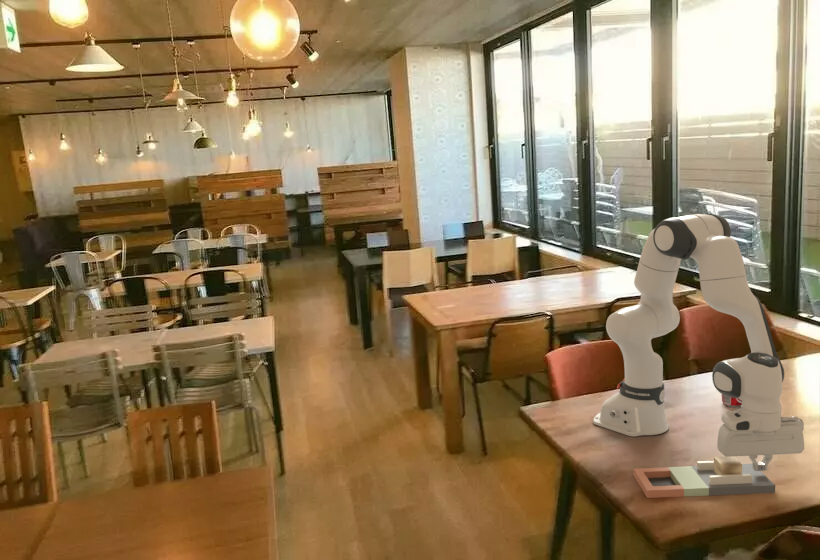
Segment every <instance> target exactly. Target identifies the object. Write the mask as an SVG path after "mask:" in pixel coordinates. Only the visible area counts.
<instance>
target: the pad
mask: <svg viewBox="0 0 820 560" xmlns="http://www.w3.org/2000/svg"><path fill="white" fill-rule="evenodd" d="M691 466H692V465H690V466H689V465H688V466H687V465H686V466H667V467H668V468H669V469H670V477H671V478H672V480H673V481H674V483H675V484H676V485H682V487H683V488H684V497H700V496H701V497H704V496H705V497H707V496H710V495H709V487H708V486H707V485H706V484H705V483H704V481H703V480H702V479H701V478H700V477H699V475H698V474H697V473H696V472H695V470H694V469H693V468H692V467H691Z"/></svg>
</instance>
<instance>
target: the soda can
mask: <svg viewBox="0 0 820 560" xmlns="http://www.w3.org/2000/svg"><path fill="white" fill-rule="evenodd" d="M721 402H722V403H723V404H724V405H725V406H727V407H731V408H740V407H741V406H742V400H741V399H740V398H732V397H728V396H724V395H723V394H721Z"/></svg>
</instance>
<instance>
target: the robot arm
mask: <svg viewBox="0 0 820 560" xmlns="http://www.w3.org/2000/svg"><path fill="white" fill-rule="evenodd" d="M731 232H732V231H731V225H730V224H729V222H728V221H727V219H726V218H724V217H723V216H721V215H718V214H714V213H706V214H705V213H696V214H695V213H694V214H693V213H692V214H691V213H690V214H686V215H681V216H678V217H676V216H675V217H674V216H673V217H669V218H665V219H663V220H661V221H660V222H659V223H657V225H656V226H655V228H654V229H652V230H651V231H650V233H649V235H648V237H647V239H646V241H645V243H644V245H643V247H642V251H641V253H640V257H639V261H638V265H637V269H636V272H635V277H634V282H633V283H634V286H635V288H636V290H637V291H638V292H639V293H640V300H639V302H638V303H637V304H635V305H630V306H626V307H622V308H620V309H618V310H616V311H615V312H613V313H611V314H610V315H609V316H608V317H607V320H606V323H605V324H606V325H605V328H606V333H607V335H608V336H609V338H610V339H611V340H612V341H613V342H614V343H616V344H617V345H618V347H619V349H620V351H621V354H622V357H623V364H624V365H623V366H624V367H623V368H624V378H623V380H622V381H620V382H619V383H618V384H617V385H616V386H617V387H616V389H617V390H619V391H618V392H616V393H614V394H613V395H612V396H610V397H608V398H607V399H606V400H605V401H604V402H603V403H602V405H601V409H600V412H598V413H597V414H596V415H594V416H593V419H592V422H593V424H594V425H595V426H599V427H601V428H604V429H607V430H610V431H614V432H617V433H619V434H622V435H626V436H628V437H641V436H654V435H659V434H660V435H661V434H664V433H666V432H667V431H668V430H669V424H668V421H667V417H666V413H665V403H664V402H665V397H666V396H665V395H666V394H665V393H666V392H665V383H664V378H663V377H664V376H663V375H664V374H663V373H664V372H663V371H664V368H663V367H664V366H663V365H664V362H663V361H664V360H663V358H662V357H661V356H660V354H658V353H657V352H654V350H653V347H652V339H655V338H658V337H659V338H660V337H662V336H667V335H668V334H670V332H673V331H674V330H675V329H677V327H678V326H679V325H680V320H681V316H680V312H679V308H677V306H676V305H675V304H674V301H673V300H674V297H673V296H674V295H673V293H674V288H675V284H676V280H677V276H678V272H679V270H680V269H679V268H680V266H681V261H682V260H687V259H689V258H691V259H692V260H693V261H695V262H696V264H697V267H698V275H699V276H698V277H699V282H700V283H699V285H700V291H701V295H702V298H703V300H704V302H705V303H706V304H707V305H708V306H709V307H710V308H712V309H714V310H715V311H717V312H718V313H719V312H720V313H722V314H726V315H729V316H732V317H735V318H737V319H738V320H739V321H740V322H741V323H742V325H743V327H744V330H745V334H746V337H747V341H748V345H749V348H750V351H751V352H750V353H748V354H746V355H745V356H743V357H736V358H730V359H724V360H722V361H718V362H717V363H716V364H715V365H714V367H713V370H712V377H711V378H712V383H713V387H714V389H716V391H718V393H720V394H721V395H722V394H723V395H724V396H728V397H732V398H740V399H741V400H742V405H741V406H742V407H741V406H740V407H738V408H736V409H734V410H731V411H728V412H725V413H723V414H722V415H721V417H720V418H721V421H722V424H721V426H720V427H719V429H718V435H717V445H716V446H717V450H718V452H719V453H720V454H722V456H723V457H731V456H734V457H747V456H748V458H749V459H750V461H751V463H752V464H753V469H754V470H755V471H761V472H764V471H768V466H769V464H770V462H771V461H772V459H773V456H774V455H793V454H794V455H795V454H796V455H797V454H802V453H803V452H804V450H805V438H804V434H803V432H804V430H805V429H804V427H805V426H804V425H805V423H804V420H803V419H801V418H800V417H798V416H782V404H781V396H782V395H783V383H784V380H785V369H784V366H783V363H782V362H781V359H780V357H779V356H778V353H777V350H776V348H775V344H774V343H775V342H774V339H773V336H772V333H771V329H770V326H769V322H768V319H767V316H766V312H765V310H764V306H763V304H762V302H761V301H760V300H761V299H759V298H758V297H757V296H756V295H754V294H753V292H752V291H751V288H750V286H749V283H748V280H747V279H748V278H747V276H746V275H747V274H746V272H747V271H746V268H745V263H744V259H743V255H742V252H741V249H740V247H739V246H740V245H739V244H738V242H737V240H735V239H734V238H732V237H731V234H732V233H731ZM758 456H764V457H763V459H762V461H757V460H758Z"/></svg>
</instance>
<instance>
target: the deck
mask: <svg viewBox="0 0 820 560" xmlns="http://www.w3.org/2000/svg"><path fill="white" fill-rule="evenodd" d="M741 464H742V474H751V475H752V483H744V484H720V485H710V484H709V476H710V475H716V473H715V472H714V470H698V469H697V465H690V466H691V467H692V468H693V469H694V470H695V472H696V473H697V474H698V475H699V477H700V478H701V479H702V480H703V481H704V483H705V484H706V485H707V486H708V487H709V495H708V496H729V495H731V496H732V495H752V494H776V484H774V482H773V481H772V480H770V479H769V478H768V476H766V475H765V473H763V471H755V470H754V469H753V463H741ZM668 467H669V466H665V467H643V468H641V467H639V468H633V469H632V470H633V474H632V475H633V477H634V480H636V482H637V484H638V486H639V487H640V489H641V491H642V492H643V493H644V496H645V497H646V498H647V499H653V498H654V499H655V498H657V499H658V498H676V497H677V498H681V497H685V496H684V488H683V487H682V485H676V484H675V483H674V481H673V480H672V478H671V477H670V469H669V468H668Z"/></svg>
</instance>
